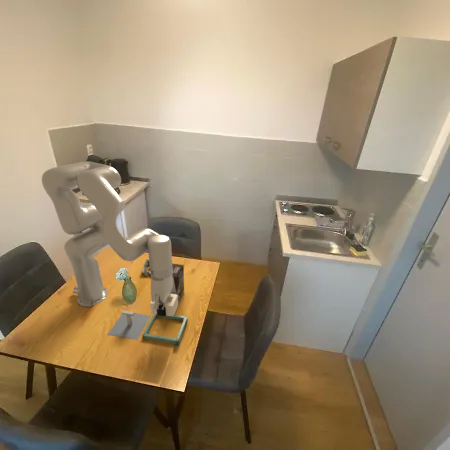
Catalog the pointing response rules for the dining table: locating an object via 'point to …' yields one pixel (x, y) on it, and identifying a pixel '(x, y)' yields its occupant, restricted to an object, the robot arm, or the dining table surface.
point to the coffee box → (178, 280)
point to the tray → (162, 338)
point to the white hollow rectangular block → (167, 305)
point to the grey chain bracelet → (146, 268)
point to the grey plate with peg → (129, 325)
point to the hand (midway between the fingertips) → (165, 308)
